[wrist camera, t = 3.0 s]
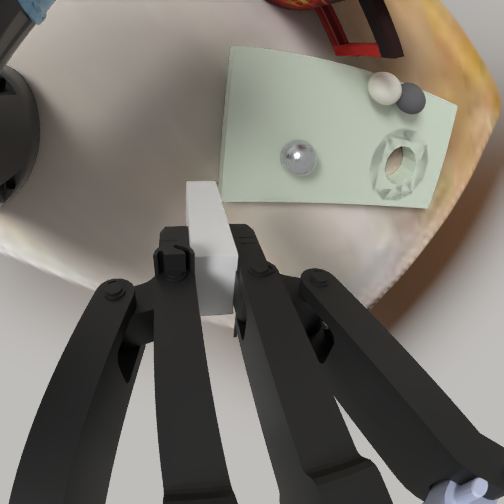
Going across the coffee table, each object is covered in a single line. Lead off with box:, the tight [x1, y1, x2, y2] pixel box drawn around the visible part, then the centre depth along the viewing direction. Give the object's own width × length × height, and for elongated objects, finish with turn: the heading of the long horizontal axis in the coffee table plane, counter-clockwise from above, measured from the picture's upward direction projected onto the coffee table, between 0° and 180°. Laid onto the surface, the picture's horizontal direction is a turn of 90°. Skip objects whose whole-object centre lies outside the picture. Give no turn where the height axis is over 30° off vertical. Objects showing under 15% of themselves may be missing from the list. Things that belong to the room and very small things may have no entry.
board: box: [218, 45, 457, 209], centre depth 27 cm, size 26×14×2 cm, turn 84°
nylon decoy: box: [368, 72, 402, 105], centre depth 22 cm, size 3×3×3 cm
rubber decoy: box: [395, 83, 426, 115], centre depth 23 cm, size 3×3×3 cm
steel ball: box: [280, 139, 317, 176], centre depth 24 cm, size 3×3×3 cm
